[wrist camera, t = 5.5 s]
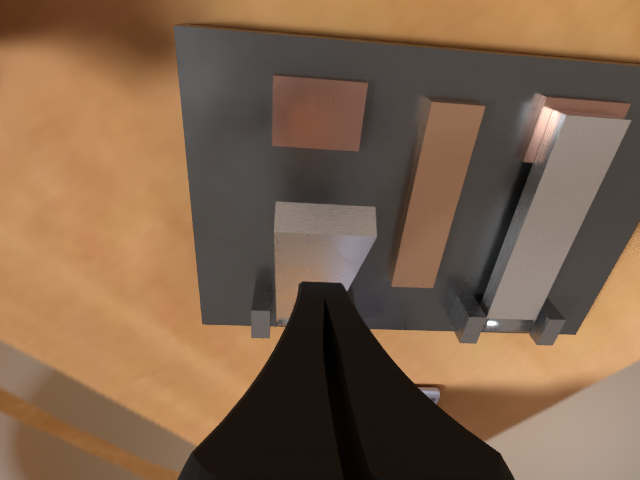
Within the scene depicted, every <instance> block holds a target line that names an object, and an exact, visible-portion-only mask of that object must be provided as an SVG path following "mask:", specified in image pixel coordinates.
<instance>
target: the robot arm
mask: <svg viewBox="0 0 640 480" xmlns="http://www.w3.org/2000/svg"><path fill="white" fill-rule="evenodd" d="M439 397H440V391H439V389H438V388H435V387H417V386H416V385H415V384H414V383H413V382H412V381H411V380H410V379H409V378H408V377H407V376H406V375H405V373H404V372H403V371H402V370H401V369H400V368H399V367H398V366H397V365H396V363H395V362H394V361H393V360H392V359H391V357H390V356H389V355H388V354H387V352H386V351H385V350H384V349H383V347H382V346H381V345H380V343H379V342H378V341H377V339H376V338H375V337H374V335H373V334H372V332H371V331H370V329H369V328H368V326H367V325H366V323H365V322H364V320H363V319H362V317H361V316H360V314H359V312H358V311H357V309H356V307H355V306H354V304H353V302H352V300H351V299H350V297H349V295H348V293H347V291H346V289H345V287H344V285H343V284H342V283H334V282H307V281H302V282H301V283H300V284H299V285H298V294H297V298H296V302H295V305H294V308H293V311H292V313H291V315H290V318H289V320H288V323H287V325H286V327H285V330H284V332H283V333H282V335H281V337H280V339H279V341H278V343H277V345H276V347H275V349H274V351H273V352H272V354H271V356H270V358H269V359H268V361H267V362H266V364H265V366H264V367H263V369H262V370H261V372H260V373H259V375H258V376H257V378H256V379H255V380H254V382H253V383H252V385H251V386H250V387H249V389H248V390H247V391H246V393H245V394H244V395H243V397H242V398H241V399H240V400H239V402H238V403H237V404H236V405H235V406H234V407H233V409H232V410H231V411H230V412H229V413H228V415H227V416H226V417H225V418H224V419H223V421H222V422H221V423H220V424H219V425H218V426H217V427H216V428H215V429H214V430H213V431H212V432H211V433H210V434H209V435H208V436H207V437H206V438H205V439H204V440H203V441H202V442H201V443H200V444H199V446H198V447H197V448H196V449H195V450H194V451H193V452H192V453H191V454H190V456H189V458H188V460H187V462H186V464H185V466H184V468H183V469H182V471H181V473H180V475H179V478H178V480H515V479H514V477H513V475H512V473H511V471H510V470H509V468H508V466H507V465H506V463H505V461H504V460H503V458H502V456H501V454H500V453H499V452H497V451H496V450H495V449H493V448H492V447H490V446H489V445H488V444H486V443H485V442H483V441H482V440H481V439H479V438H478V437H476V436H475V435H474V434H472V433H471V432H470V431H468V430H467V429H465V428H464V427H463V426H461V425H460V424H459V423H458V422H457V421H455V420H454V419H453V418H452V417H450V416H449V415H448V414H447V413H445V412H444V411H443V410H442V409H441V408H440V407H439V406H437V403H438V400H439Z"/></svg>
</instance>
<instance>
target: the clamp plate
mask: <svg viewBox="0 0 640 480" xmlns="http://www.w3.org/2000/svg"><path fill="white" fill-rule="evenodd" d="M174 34H175V45H176V55H177V65H178V76H179V86H180V96H181V107H182V117H183V128H184V138H185V148H186V159H187V169H188V179H189V190H190V200H191V210H192V221H193V231H194V241H195V252H196V262H197V273H198V283H199V293H200V304H201V314H202V324H206V325H243V326H251V338H270V327H271V326H279V327H286V326H282V325H278V322H277V317H276V285H275V253H274V222H275V205H276V202H294V203H312V204H331V205H350V206H369V207H375V210H376V228H377V238H376V240H375V241H374V243H373V245H372V247H371V249H370V251H369V252H368V254H367V256H366V258H365V260H364V261H363V263H362V265H361V267H360V269H359V271H358V272H357V274H356V276H355V278H354V280H353V281H352V283H351V285H350V287H349V289H348V291H347V293H348V295H349V297H350V299H351V300H352V302H353V304H354V306H355V307H356V309H357V311H358V312H359V314H360V316H361V317H362V319H363V320H364V322H365V323H366V325H367V326H368V328H369V329H389V330H425V331H454V332H455V334H456V336H457V338H458V340H459V342H460V343H477V340H478V338H479V335H480V333H481V332H498V331H481V330H482V328H483V325H484V323H485V320H486V316H485V314H484V312H483V311H482V309H481V307H480V304H481V301H482V299H483V296H484V293H485V291H486V288H487V285H488V283H489V280H490V277H491V275H492V272H493V269H494V267H495V264H496V261H497V259H498V256H499V253H500V251H501V248H502V245H503V243H504V240H505V237H506V235H507V232H508V229H509V227H510V224H511V221H512V218H513V216H514V213H515V210H516V208H517V205H518V202H519V200H520V197H521V194H522V192H523V189H524V186H525V184H526V181H527V178H528V176H529V173H530V170H531V168H532V165H533V162H534V160H535V157H536V154H537V152H538V149H539V146H540V144H541V141H542V138H543V136H544V133H545V130H546V128H547V125H548V122H549V120H550V117H551V114H552V112H553V110H563V111H576V112H589V113H602V114H616V115H618V116H621V117H624V118H627V119H630V120H631V122H630V124H629V126H628V129H627V131H626V133H625V135H624V137H623V139H622V141H621V143H620V145H619V147H618V149H617V151H616V154H615V156H614V158H613V160H612V162H611V164H610V166H609V168H608V170H607V172H606V174H605V177H604V179H603V181H602V183H601V185H600V187H599V189H598V191H597V193H596V195H595V197H594V199H593V202H592V204H591V206H590V208H589V210H588V212H587V214H586V216H585V218H584V220H583V222H582V224H581V227H580V229H579V231H578V233H577V235H576V237H575V239H574V241H573V243H572V245H571V247H570V250H569V252H568V254H567V256H566V258H565V260H564V262H563V264H562V266H561V268H560V270H559V272H558V275H557V277H556V279H555V281H554V283H553V285H552V287H551V289H550V291H549V293H548V295H547V298H546V300H545V302H544V304H543V306H542V308H541V310H540V312H539V314H538V316H537V318H536V320H535V323H534V327H533V329H532V331H530V332H498V333H529V335H530V336H531V338H532V339H533V340H534V342H535V343H536V345H553V344H554V342H555V340H556V338H557V336H558V334H572V335H576V333H577V331H578V329H579V327H580V326H581V324H582V322H583V320H584V319H585V317H586V315H587V313H588V312H589V310H590V308H591V306H592V305H593V303H594V301H595V299H596V298H597V296H598V294H599V292H600V290H601V289H602V287H603V285H604V283H605V282H606V280H607V278H608V276H609V275H610V273H611V271H612V269H613V268H614V266H615V264H616V262H617V260H618V259H619V257H620V255H621V253H622V252H623V250H624V248H625V246H626V245H627V243H628V241H629V239H630V238H631V236H632V234H633V232H634V231H635V229H636V227H637V225H638V223H639V222H640V64H635V63H624V62H613V61H601V60H590V59H579V58H567V57H556V56H545V55H533V54H522V53H511V52H499V51H488V50H477V49H466V48H454V47H443V46H432V45H420V44H409V43H398V42H386V41H375V40H364V39H352V38H341V37H330V36H318V35H307V34H296V33H284V32H273V31H262V30H250V29H239V28H228V27H216V26H205V25H194V24H179V25H174Z"/></svg>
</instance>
